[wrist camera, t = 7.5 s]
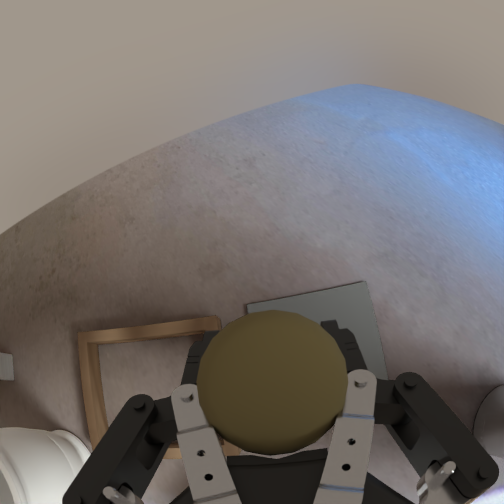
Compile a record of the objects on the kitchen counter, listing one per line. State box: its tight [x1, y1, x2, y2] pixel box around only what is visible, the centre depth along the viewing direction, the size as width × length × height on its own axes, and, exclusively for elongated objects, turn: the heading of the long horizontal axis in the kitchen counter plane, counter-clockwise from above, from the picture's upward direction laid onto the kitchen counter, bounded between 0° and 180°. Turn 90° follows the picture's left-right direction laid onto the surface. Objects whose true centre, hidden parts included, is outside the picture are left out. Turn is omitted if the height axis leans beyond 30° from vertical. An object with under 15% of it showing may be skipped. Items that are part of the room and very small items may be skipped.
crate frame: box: [78, 315, 241, 459], centre depth 28 cm, size 16×14×2 cm
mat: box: [247, 281, 388, 424], centre depth 29 cm, size 13×14×1 cm
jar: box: [0, 427, 91, 504], centre depth 19 cm, size 11×10×15 cm
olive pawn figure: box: [196, 310, 348, 456], centre depth 13 cm, size 6×6×11 cm
